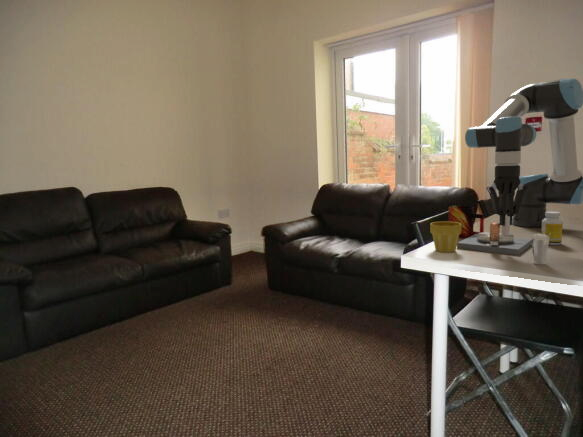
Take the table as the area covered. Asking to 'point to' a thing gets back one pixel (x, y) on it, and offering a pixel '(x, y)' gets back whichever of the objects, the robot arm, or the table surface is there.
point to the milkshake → (540, 248)
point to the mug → (465, 219)
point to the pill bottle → (552, 227)
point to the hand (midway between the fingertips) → (505, 234)
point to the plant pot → (445, 235)
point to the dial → (495, 236)
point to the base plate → (510, 248)
